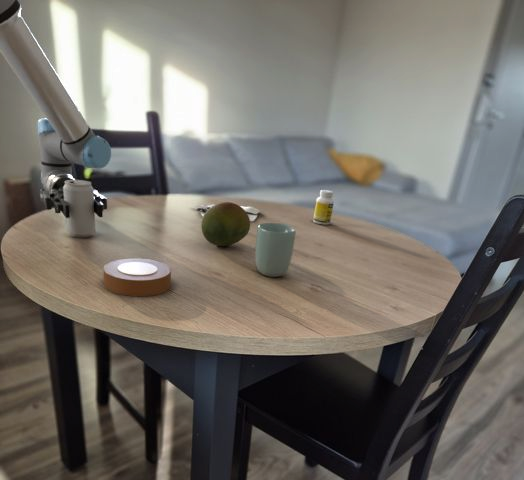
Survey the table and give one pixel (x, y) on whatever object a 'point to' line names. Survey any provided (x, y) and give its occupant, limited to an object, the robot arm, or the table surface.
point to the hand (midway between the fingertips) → (84, 211)
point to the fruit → (225, 224)
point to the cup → (274, 248)
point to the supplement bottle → (324, 208)
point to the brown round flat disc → (137, 277)
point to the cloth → (249, 210)
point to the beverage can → (80, 208)
